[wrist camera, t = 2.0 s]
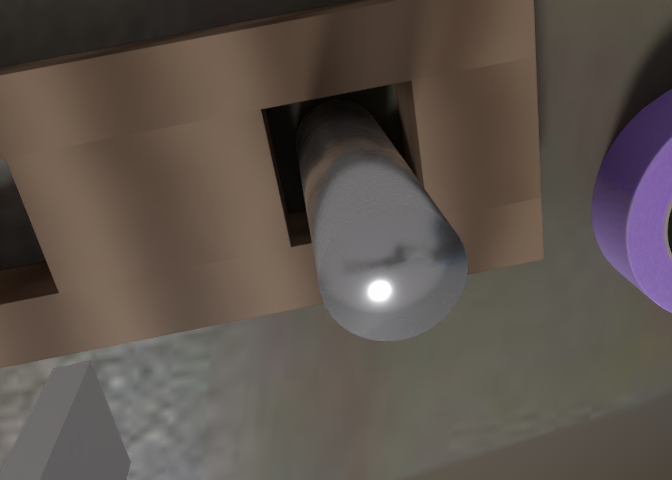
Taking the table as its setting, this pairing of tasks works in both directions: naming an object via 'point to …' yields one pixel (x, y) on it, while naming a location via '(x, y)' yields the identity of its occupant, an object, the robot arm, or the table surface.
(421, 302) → the steel pin
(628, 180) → the masking tape
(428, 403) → the table surface
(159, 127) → the brown block with holes
